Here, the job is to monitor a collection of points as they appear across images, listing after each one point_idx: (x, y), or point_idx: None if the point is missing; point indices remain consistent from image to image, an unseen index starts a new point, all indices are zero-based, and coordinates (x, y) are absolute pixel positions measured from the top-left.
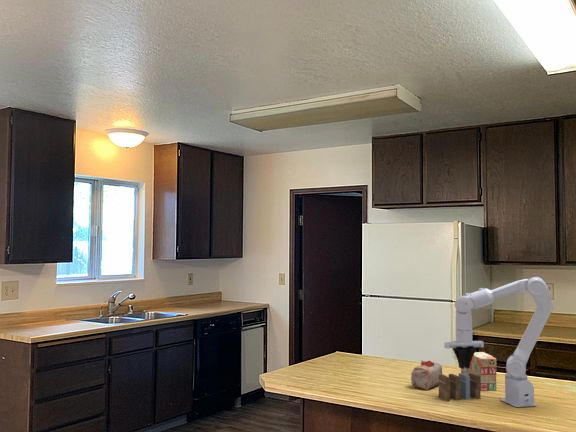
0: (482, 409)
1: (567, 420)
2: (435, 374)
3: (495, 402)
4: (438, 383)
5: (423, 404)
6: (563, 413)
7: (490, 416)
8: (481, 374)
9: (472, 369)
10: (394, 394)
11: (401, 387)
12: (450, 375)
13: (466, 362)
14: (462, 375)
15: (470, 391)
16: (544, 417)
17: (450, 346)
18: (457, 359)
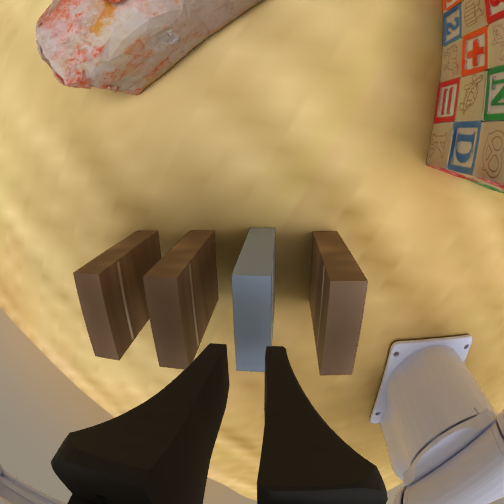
0: (240, 414)
1: (391, 484)
2: (175, 28)
3: None
4: (231, 20)
5: (59, 310)
6: None
7: (225, 455)
8: (480, 178)
9: (488, 34)
10: (4, 159)
11: None
12: (149, 299)
13: (265, 405)
14: (234, 331)
15: (314, 255)
16: None
17: (21, 501)
18: (170, 385)
